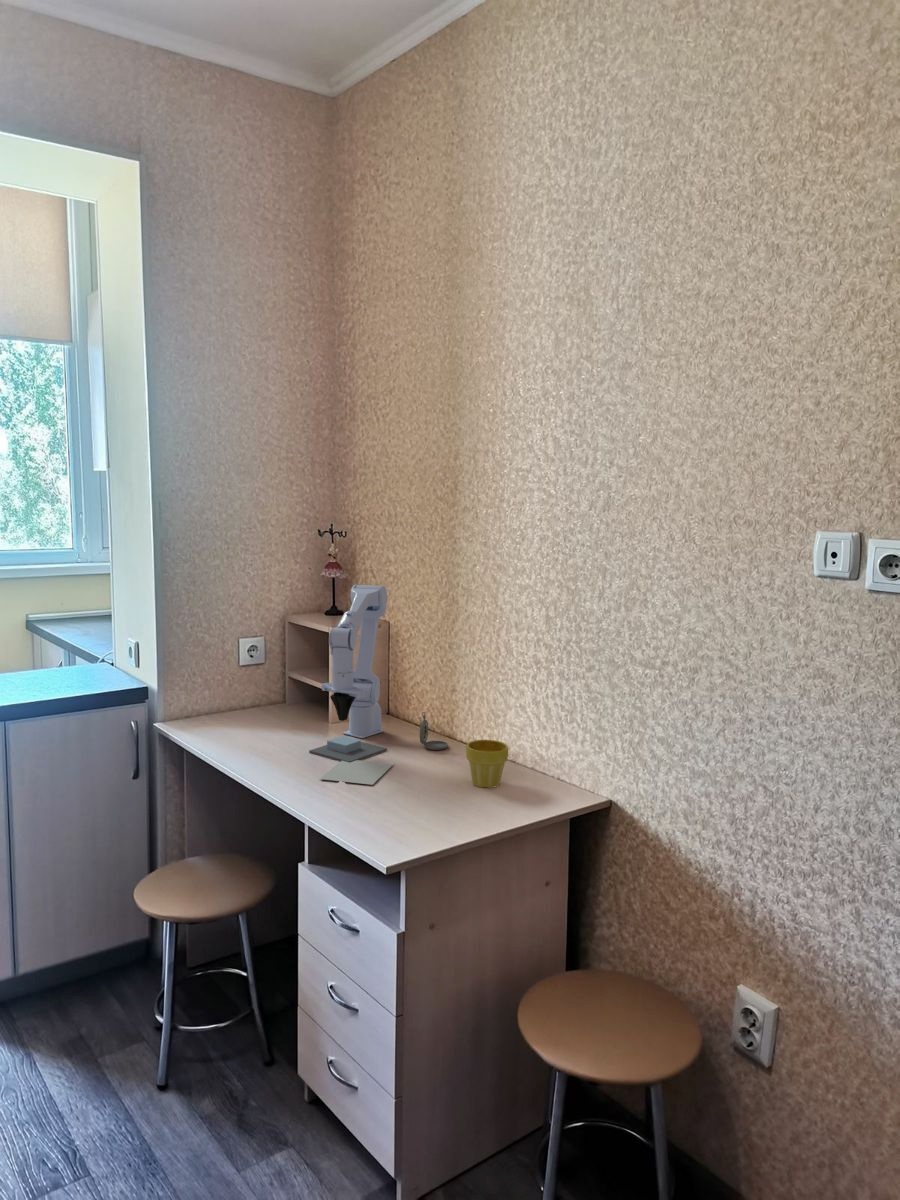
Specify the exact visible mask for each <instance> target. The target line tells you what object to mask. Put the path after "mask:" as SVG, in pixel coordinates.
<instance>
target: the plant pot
mask: <svg viewBox="0 0 900 1200" xmlns="http://www.w3.org/2000/svg"><path fill="white" fill-rule="evenodd" d="M465 754H466V755H465V757H466V760H468V762H469V764H468V765H469V769H470V776H471V781H472V784H473V785H474V786H475V785H476V786H475V787H477V786H479V787H478V788H482V787H493V788H495V787H494V786H497V785H498V786H499V785H500V783H501V779H502V774H503V772H504V771H503V770H504V767H505V763H506V762H508V759H509V746H508V744H507V743H505V742H503V741H500V740H499V741H498V740H493V739H476V740H475V739H474V740H472V741H469V742H468V743H467V744H466V748H465ZM498 786H497V787H498Z"/></svg>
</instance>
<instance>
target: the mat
mask: <svg viewBox="0 0 900 1200" xmlns="http://www.w3.org/2000/svg"><path fill="white" fill-rule="evenodd" d="M386 750H387V751H388V747H383V746H380V745H376V744H371V743H368V742H363V741H361V748H360V749H357V750H354V751H351V752H348V753H342V752H339V751H335V750H331V749H327V744H326V745H321V746H319V747H315V748H313V749H310V750H309V751H308V752H309V754H312V753H313V755H316V756H321V757H324V758H328V759H330V760H334V759H335V760H334V761H337V760H338V762H341V761H346V762H352V761H355V760H361V759H362V760H364V759H367V758H369V756H370V757H372V755H373V756H375V755H374V754H376V755H378V754H380V752H381V753H383V751H384V752H386ZM377 753H378V754H377ZM363 758H364V759H363ZM362 760H361V761H362Z"/></svg>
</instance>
